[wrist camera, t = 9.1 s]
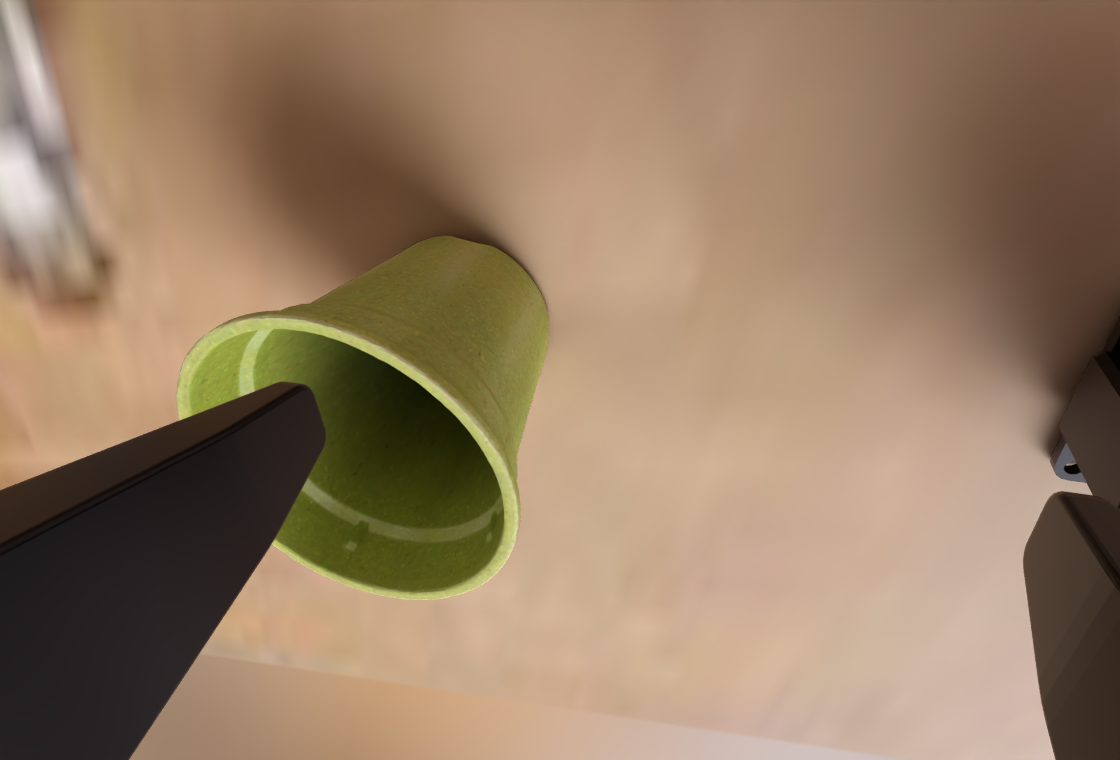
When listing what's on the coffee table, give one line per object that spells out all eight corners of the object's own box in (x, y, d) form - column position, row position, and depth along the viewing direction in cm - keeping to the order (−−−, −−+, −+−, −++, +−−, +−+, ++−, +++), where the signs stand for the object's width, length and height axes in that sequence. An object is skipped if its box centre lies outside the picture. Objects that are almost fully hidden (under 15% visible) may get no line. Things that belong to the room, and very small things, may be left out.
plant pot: (655, 357, 22) (594, 552, 16) (470, 452, 28) (363, 630, 21) (472, 123, 20) (302, 237, 13) (305, 277, 25) (119, 417, 18)
